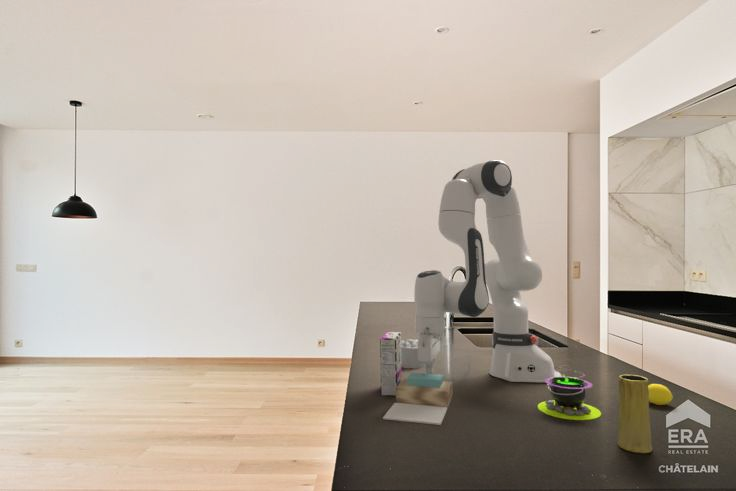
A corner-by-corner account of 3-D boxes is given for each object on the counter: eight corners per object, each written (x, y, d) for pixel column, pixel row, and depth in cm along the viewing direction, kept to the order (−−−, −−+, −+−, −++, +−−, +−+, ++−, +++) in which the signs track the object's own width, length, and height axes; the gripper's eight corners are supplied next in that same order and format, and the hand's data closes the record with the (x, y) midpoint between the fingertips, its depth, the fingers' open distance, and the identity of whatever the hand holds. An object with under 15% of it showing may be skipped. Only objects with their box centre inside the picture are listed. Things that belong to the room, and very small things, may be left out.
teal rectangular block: (443, 382, 130) (443, 374, 130) (440, 387, 124) (440, 380, 124) (411, 379, 133) (411, 372, 133) (407, 385, 127) (407, 378, 127)
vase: (611, 442, 97) (610, 374, 98) (639, 441, 98) (637, 373, 98) (630, 454, 91) (629, 382, 92) (659, 453, 92) (658, 381, 92)
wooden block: (452, 396, 130) (452, 381, 130) (448, 407, 121) (448, 391, 121) (404, 392, 134) (404, 378, 134) (396, 402, 125) (396, 387, 125)
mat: (447, 408, 119) (447, 407, 119) (440, 425, 108) (440, 423, 108) (394, 404, 123) (394, 402, 123) (383, 419, 112) (383, 417, 112)
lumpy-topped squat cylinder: (428, 361, 174) (427, 338, 174) (423, 369, 162) (423, 344, 162) (400, 359, 177) (400, 337, 177) (394, 367, 164) (394, 343, 164)
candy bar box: (386, 385, 142) (385, 331, 142) (402, 385, 141) (401, 332, 141) (379, 395, 131) (379, 337, 131) (397, 396, 130) (396, 338, 130)
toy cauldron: (524, 405, 122) (524, 363, 122) (567, 398, 128) (566, 358, 128) (570, 424, 108) (569, 377, 109) (615, 415, 114) (614, 370, 114)
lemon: (669, 404, 124) (672, 384, 123) (673, 410, 119) (676, 390, 118) (639, 398, 126) (642, 378, 126) (642, 403, 121) (645, 383, 121)
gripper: (434, 331, 126) (435, 382, 125) (444, 321, 145) (445, 365, 145) (411, 330, 127) (412, 380, 127) (425, 320, 147) (425, 364, 147)
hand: (429, 372), depth 136 cm, fingers closed
